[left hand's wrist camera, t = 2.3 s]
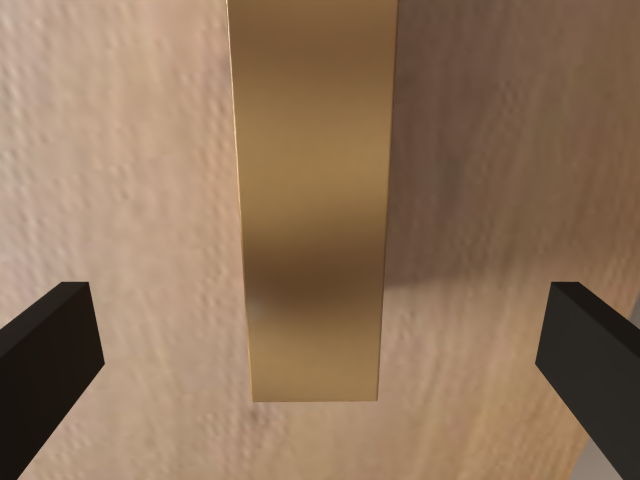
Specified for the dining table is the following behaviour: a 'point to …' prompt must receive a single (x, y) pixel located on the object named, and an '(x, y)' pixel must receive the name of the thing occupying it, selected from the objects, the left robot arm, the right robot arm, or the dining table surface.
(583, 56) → the dining table surface
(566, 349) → the left robot arm
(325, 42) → the bar
